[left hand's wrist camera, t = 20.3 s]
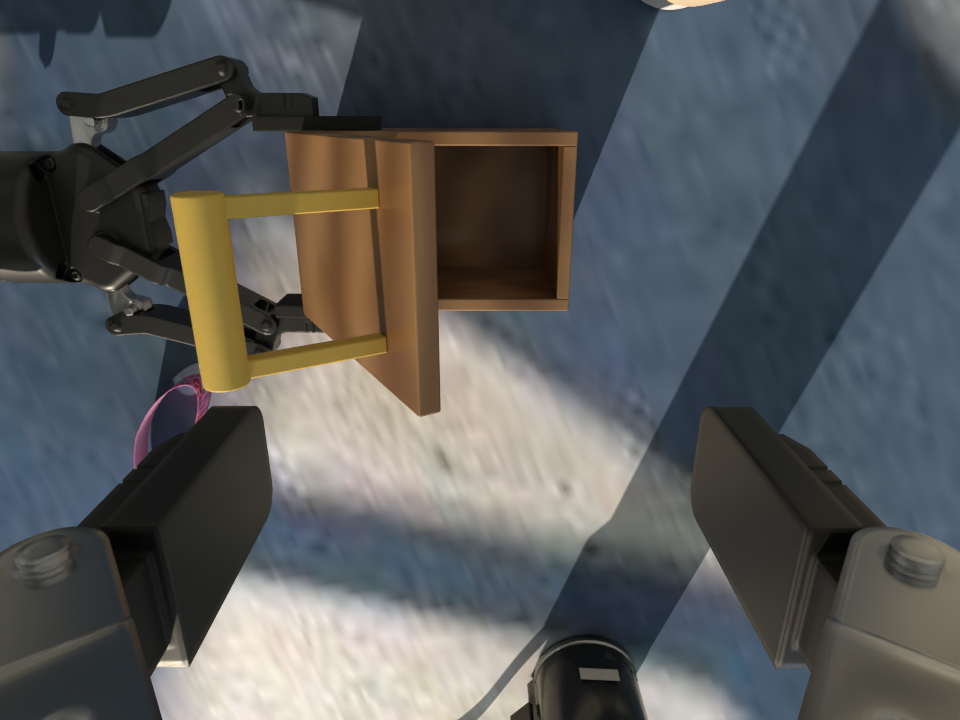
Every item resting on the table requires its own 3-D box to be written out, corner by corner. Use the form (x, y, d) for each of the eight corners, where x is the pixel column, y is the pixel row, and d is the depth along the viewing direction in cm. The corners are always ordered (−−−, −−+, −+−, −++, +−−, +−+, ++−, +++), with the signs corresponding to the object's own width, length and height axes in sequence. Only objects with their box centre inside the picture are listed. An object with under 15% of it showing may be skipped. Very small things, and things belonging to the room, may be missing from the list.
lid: (435, 140, 21) (172, 145, 17) (441, 412, 24) (225, 466, 20) (302, 131, 33) (133, 132, 29) (319, 311, 36) (171, 334, 33)
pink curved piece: (166, 360, 47) (152, 371, 45) (218, 379, 48) (206, 391, 46) (134, 475, 51) (120, 491, 49) (182, 491, 51) (171, 507, 49)
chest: (558, 128, 41) (578, 131, 33) (551, 274, 45) (568, 311, 37) (333, 127, 41) (295, 130, 33) (344, 274, 45) (313, 310, 37)
